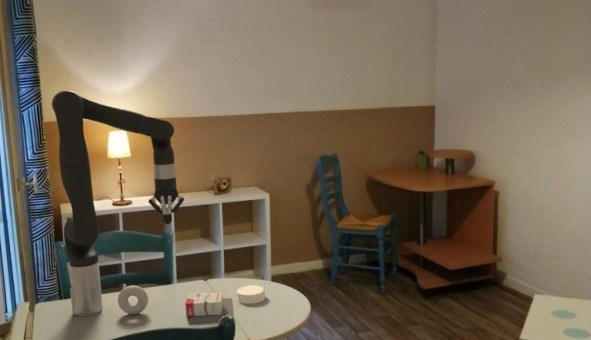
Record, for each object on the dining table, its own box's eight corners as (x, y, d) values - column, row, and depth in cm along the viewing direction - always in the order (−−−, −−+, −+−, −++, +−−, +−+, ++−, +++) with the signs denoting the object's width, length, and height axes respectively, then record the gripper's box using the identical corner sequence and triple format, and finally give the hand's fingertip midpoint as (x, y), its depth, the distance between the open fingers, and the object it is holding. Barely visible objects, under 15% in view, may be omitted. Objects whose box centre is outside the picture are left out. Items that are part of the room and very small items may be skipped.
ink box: (185, 317, 186) (221, 315, 186) (185, 303, 185) (221, 301, 186) (189, 306, 194) (223, 305, 195) (188, 293, 194) (222, 291, 194)
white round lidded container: (233, 303, 198) (232, 294, 197) (242, 293, 207) (242, 283, 207) (260, 305, 195) (260, 296, 195) (268, 294, 205) (268, 285, 204)
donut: (150, 311, 193) (148, 283, 191) (148, 315, 189) (146, 286, 188) (120, 312, 192) (117, 284, 190) (117, 317, 189) (115, 288, 187)
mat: (190, 323, 182) (190, 322, 182) (191, 302, 199) (191, 301, 199) (233, 320, 184) (233, 318, 184) (231, 299, 201) (231, 297, 201)
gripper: (144, 179, 194) (148, 227, 197) (183, 177, 196) (186, 225, 199) (146, 175, 201) (150, 222, 204) (184, 173, 203) (187, 220, 206)
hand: (168, 223), depth 202 cm, fingers closed
